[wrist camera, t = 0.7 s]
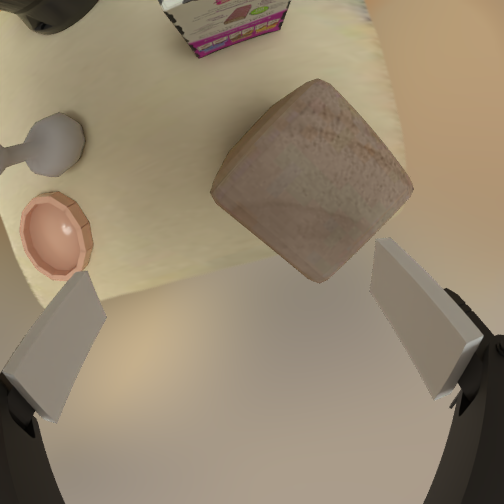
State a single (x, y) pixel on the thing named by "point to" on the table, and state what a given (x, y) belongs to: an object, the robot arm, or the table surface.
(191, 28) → the candy bar box
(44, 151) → the potion bottle
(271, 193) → the wooden block
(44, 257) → the saucer
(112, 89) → the table surface
